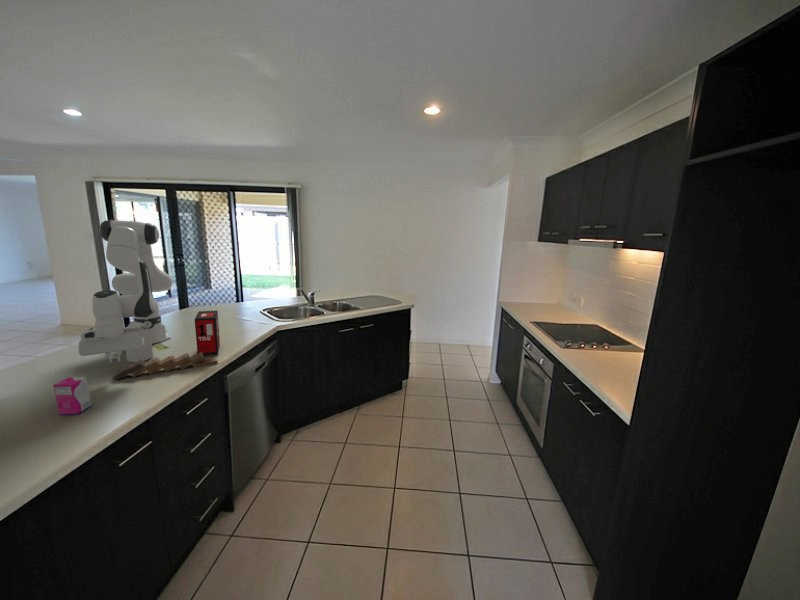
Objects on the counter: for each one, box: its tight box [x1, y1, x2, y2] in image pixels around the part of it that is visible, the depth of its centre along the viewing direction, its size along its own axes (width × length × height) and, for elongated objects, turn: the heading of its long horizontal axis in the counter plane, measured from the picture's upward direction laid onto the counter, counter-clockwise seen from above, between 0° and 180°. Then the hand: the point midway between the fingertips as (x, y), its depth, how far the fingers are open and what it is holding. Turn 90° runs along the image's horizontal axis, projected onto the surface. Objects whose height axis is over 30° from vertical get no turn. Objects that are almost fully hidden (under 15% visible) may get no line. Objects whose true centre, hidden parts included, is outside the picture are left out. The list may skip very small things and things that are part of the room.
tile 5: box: [178, 352, 205, 370], centre depth 149 cm, size 2×5×10 cm
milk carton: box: [125, 321, 154, 363], centre depth 152 cm, size 7×7×19 cm
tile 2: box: [130, 357, 161, 378], centre depth 139 cm, size 2×5×10 cm
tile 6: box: [192, 356, 219, 369], centre depth 152 cm, size 2×5×10 cm
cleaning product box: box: [194, 309, 221, 357], centre depth 167 cm, size 16×9×20 cm, turn 26°
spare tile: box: [113, 359, 146, 381], centre depth 136 cm, size 2×5×10 cm
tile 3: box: [147, 354, 176, 376], centre depth 142 cm, size 2×5×10 cm
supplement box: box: [52, 376, 93, 416], centre depth 108 cm, size 6×6×12 cm
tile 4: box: [163, 352, 191, 373], centre depth 145 cm, size 2×5×10 cm
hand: (115, 361), depth 133 cm, fingers closed
